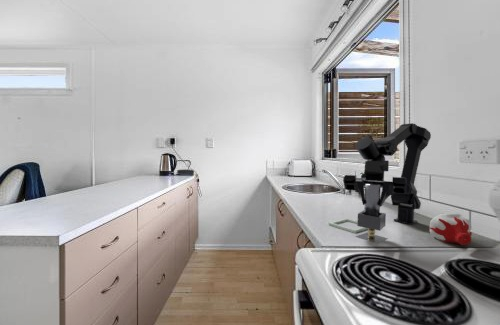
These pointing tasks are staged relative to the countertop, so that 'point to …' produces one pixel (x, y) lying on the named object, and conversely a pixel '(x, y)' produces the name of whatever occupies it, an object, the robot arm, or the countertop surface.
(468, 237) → the white red flame ovoid
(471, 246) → the countertop surface
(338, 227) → the tray
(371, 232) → the base
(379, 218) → the grey cylinder in socket
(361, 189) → the robot arm
